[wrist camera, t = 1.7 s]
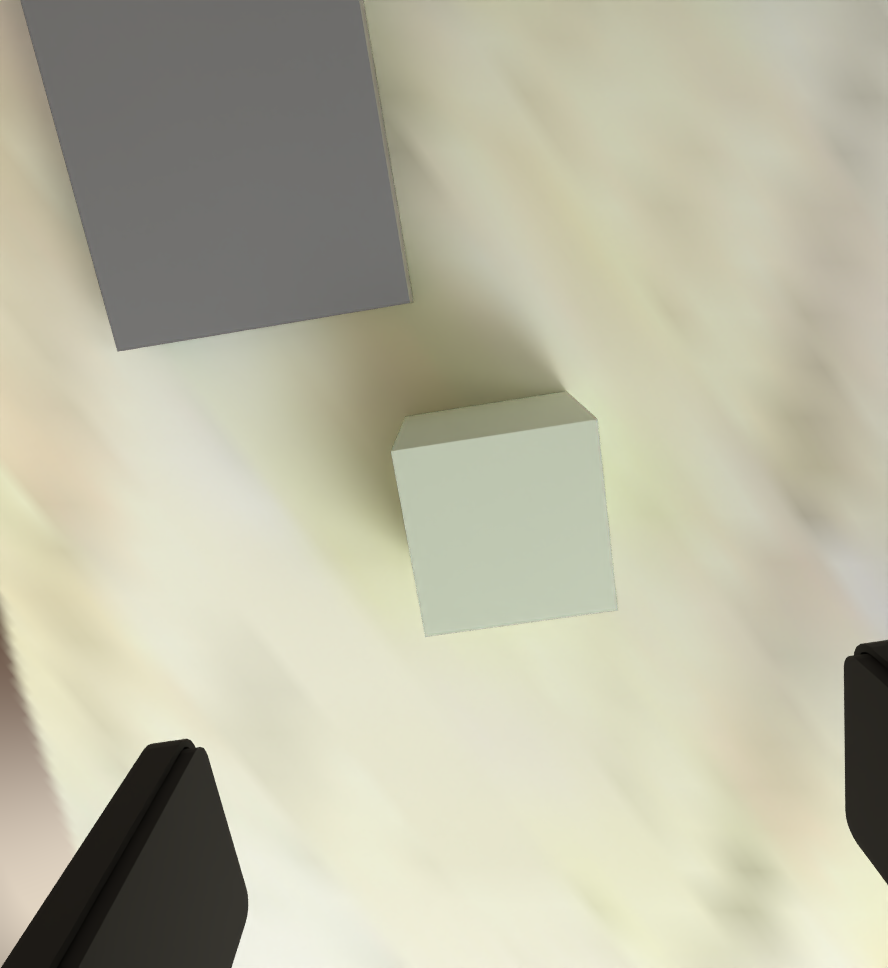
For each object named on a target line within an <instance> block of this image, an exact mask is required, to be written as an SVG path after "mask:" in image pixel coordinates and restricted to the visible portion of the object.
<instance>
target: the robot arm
mask: <svg viewBox="0 0 888 968" xmlns="http://www.w3.org/2000/svg"><path fill="white" fill-rule="evenodd" d="M844 720H845V811H846V819H847V823H848V826H849V829H850V831H851V833H852V835H853V838H854V839H855V841H856V842H857V844H858V845H859V847H860V848H861V849H862V851H863V852H864V853H865V855H866V856H867V857H868V859H869V860H870V861H871V863H872V864H873V865H874V867H875V868H876V869H877V871H878V872H879V873H880V875H881V876H882V877H883V879H884V880H885V882H886V883H887V884H888V640H885V641H878V642H871V643H864V644H860V645H858V646H857V647H856V649H855V652H854V656H848V657H847V658H846V660H845V662H844ZM247 913H248V894H247V889H246V886H245V882H244V879H243V875H242V872H241V868H240V865H239V862H238V858H237V855H236V851H235V848H234V844H233V841H232V838H231V834H230V831H229V827H228V824H227V820H226V817H225V813H224V810H223V807H222V803H221V800H220V796H219V793H218V789H217V786H216V783H215V779H214V776H213V772H212V769H211V765H210V762H209V758H208V755H207V753H206V751H205V750H204V748H202V747H198V748H195V746H194V744H193V743H192V741H191V740H189V739H182V740H175V741H168V742H161V743H153V744H150V745H148V746H147V747H146V748H145V749H144V750H143V752H142V753H141V755H140V756H139V758H138V759H137V761H136V762H135V764H134V765H133V767H132V768H131V770H130V771H129V773H128V774H127V776H126V778H125V779H124V781H123V782H122V784H121V785H120V787H119V788H118V790H117V791H116V793H115V794H114V796H113V797H112V799H111V800H110V802H109V804H108V805H107V807H106V808H105V810H104V811H103V813H102V814H101V816H100V817H99V819H98V820H97V822H96V823H95V825H94V826H93V828H92V829H91V831H90V833H89V834H88V836H87V837H86V839H85V840H84V842H83V843H82V845H81V846H80V848H79V849H78V851H77V852H76V854H75V855H74V857H73V858H72V860H71V862H70V863H69V865H68V866H67V868H66V869H65V871H64V872H63V874H62V875H61V877H60V879H59V880H58V882H57V883H56V884H55V886H54V888H53V889H52V891H51V892H50V894H49V895H48V897H47V898H46V900H45V901H44V903H43V904H42V906H41V907H40V909H39V910H38V912H37V914H36V915H35V917H34V918H33V920H32V921H31V923H30V924H29V926H28V927H27V929H26V930H25V932H24V933H23V935H22V936H21V938H20V939H19V941H18V943H17V944H16V946H15V947H14V949H13V950H12V952H11V953H10V955H9V956H8V958H7V959H6V961H5V962H4V964H3V965H2V967H1V968H231V967H232V964H233V961H234V958H235V954H236V951H237V948H238V945H239V942H240V939H241V935H242V932H243V929H244V926H245V923H246V919H247Z"/></svg>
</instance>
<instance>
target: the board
mask: <svg viewBox="0 0 888 968" xmlns="http://www.w3.org/2000/svg"><path fill="white" fill-rule="evenodd" d="M21 4H22V8H23V11H24V15H25V19H26V22H27V26H28V29H29V33H30V37H31V40H32V44H33V47H34V51H35V55H36V58H37V62H38V66H39V69H40V73H41V76H42V80H43V84H44V87H45V91H46V94H47V98H48V102H49V105H50V109H51V113H52V116H53V120H54V123H55V127H56V131H57V134H58V138H59V141H60V145H61V149H62V152H63V156H64V160H65V163H66V167H67V170H68V174H69V178H70V181H71V185H72V188H73V192H74V196H75V199H76V203H77V207H78V210H79V214H80V217H81V221H82V225H83V228H84V232H85V235H86V239H87V243H88V246H89V250H90V254H91V257H92V261H93V264H94V268H95V272H96V275H97V279H98V282H99V286H100V290H101V293H102V297H103V301H104V304H105V308H106V311H107V315H108V319H109V322H110V326H111V329H112V333H113V337H114V340H115V344H116V348H117V351H124V350H130V349H136V348H142V347H148V346H154V345H160V344H166V343H172V342H178V341H184V340H190V339H196V338H202V337H208V336H214V335H220V334H226V333H232V332H238V331H244V330H250V329H256V328H262V327H268V326H274V325H280V324H286V323H292V322H298V321H304V320H310V319H316V318H322V317H328V316H334V315H340V314H346V313H352V312H358V311H364V310H370V309H376V308H382V307H388V306H394V305H400V304H406V303H412V302H414V300H413V294H412V288H411V282H410V276H409V270H408V264H407V258H406V252H405V246H404V240H403V234H402V228H401V222H400V216H399V210H398V204H397V198H396V192H395V186H394V180H393V174H392V168H391V162H390V156H389V150H388V144H387V138H386V132H385V126H384V120H383V114H382V108H381V102H380V96H379V90H378V84H377V78H376V72H375V66H374V60H373V54H372V48H371V42H370V36H369V30H368V24H367V18H366V12H365V6H364V0H21Z"/></svg>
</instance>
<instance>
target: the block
mask: <svg viewBox="0 0 888 968" xmlns="http://www.w3.org/2000/svg"><path fill="white" fill-rule="evenodd" d="M391 455H392V460H393V465H394V471H395V476H396V481H397V487H398V492H399V498H400V503H401V508H402V514H403V519H404V525H405V530H406V535H407V541H408V546H409V552H410V557H411V562H412V568H413V573H414V578H415V584H416V589H417V595H418V600H419V605H420V611H421V616H422V622H423V627H424V632H425V637H428V636H435V635H442V634H450V633H457V632H464V631H471V630H479V629H486V628H493V627H500V626H508V625H515V624H522V623H529V622H537V621H544V620H551V619H558V618H566V617H573V616H580V615H587V614H594V613H602V612H609V611H616V610H618V606H617V596H616V587H615V577H614V568H613V559H612V549H611V540H610V530H609V521H608V512H607V502H606V493H605V483H604V474H603V464H602V455H601V446H600V436H599V427H598V419H597V418H596V417H595V416H594V415H592V414H591V413H590V412H589V411H588V410H587V409H586V408H585V407H584V406H583V405H581V404H580V403H579V402H578V401H577V400H576V399H575V398H574V397H573V396H572V395H570V394H569V393H568V392H567V391H564V392H558V393H551V394H545V395H539V396H532V397H526V398H520V399H513V400H507V401H501V402H494V403H488V404H482V405H475V406H469V407H462V408H456V409H450V410H443V411H437V412H431V413H424V414H418V415H412V416H406V417H405V419H404V421H403V424H402V426H401V428H400V431H399V433H398V436H397V438H396V440H395V443H394V445H393V447H392V450H391Z"/></svg>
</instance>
